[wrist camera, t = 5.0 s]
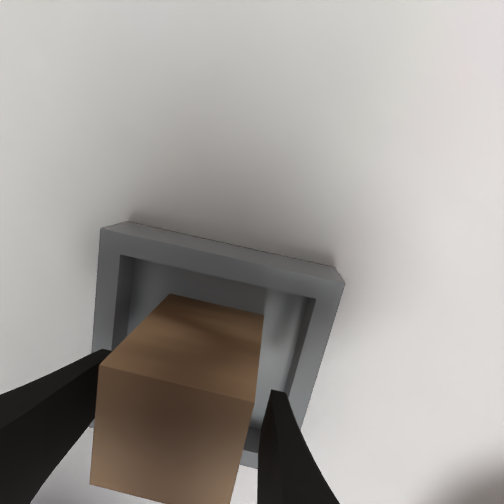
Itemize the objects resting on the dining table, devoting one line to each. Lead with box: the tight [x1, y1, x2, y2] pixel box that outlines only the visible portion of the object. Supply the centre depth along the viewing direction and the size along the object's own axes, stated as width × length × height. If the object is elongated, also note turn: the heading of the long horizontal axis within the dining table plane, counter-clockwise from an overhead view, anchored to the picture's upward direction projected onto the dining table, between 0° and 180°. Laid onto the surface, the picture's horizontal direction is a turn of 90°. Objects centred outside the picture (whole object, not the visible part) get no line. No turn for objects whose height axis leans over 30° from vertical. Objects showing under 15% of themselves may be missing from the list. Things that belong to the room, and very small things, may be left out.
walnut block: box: [90, 294, 264, 504], centre depth 12 cm, size 5×5×6 cm
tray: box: [89, 222, 345, 469], centre depth 15 cm, size 11×11×2 cm
